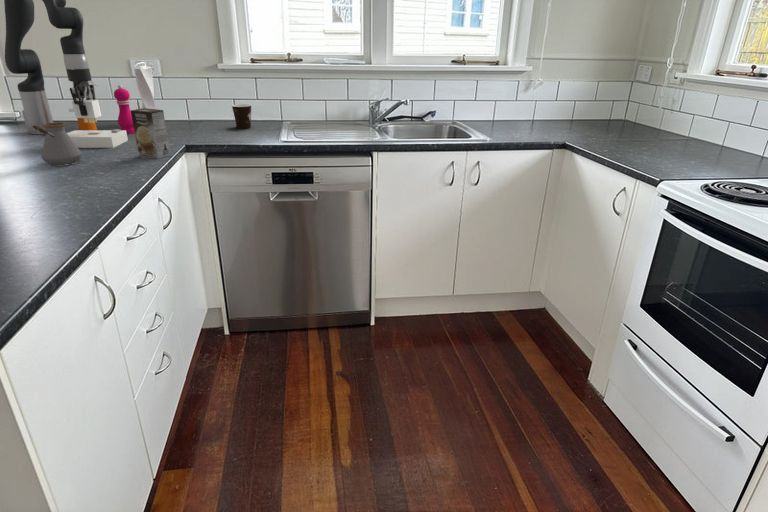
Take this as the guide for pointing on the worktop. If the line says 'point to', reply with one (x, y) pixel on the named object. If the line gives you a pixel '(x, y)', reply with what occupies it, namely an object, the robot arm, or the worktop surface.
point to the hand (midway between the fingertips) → (88, 114)
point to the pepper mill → (124, 110)
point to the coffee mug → (242, 115)
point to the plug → (88, 111)
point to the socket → (98, 138)
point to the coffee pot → (58, 145)
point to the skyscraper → (145, 86)
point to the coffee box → (150, 133)
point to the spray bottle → (81, 123)
